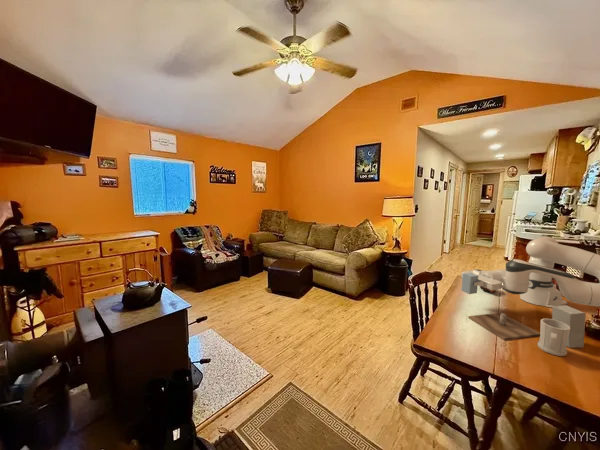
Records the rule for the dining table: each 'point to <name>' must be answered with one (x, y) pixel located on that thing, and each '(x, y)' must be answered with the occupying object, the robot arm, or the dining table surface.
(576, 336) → the skincare box
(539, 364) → the dining table surface
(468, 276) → the tall grey rectangular prism
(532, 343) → the dining table surface
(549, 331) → the cup
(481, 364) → the dining table surface
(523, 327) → the walnut base
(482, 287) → the decorative turtle
